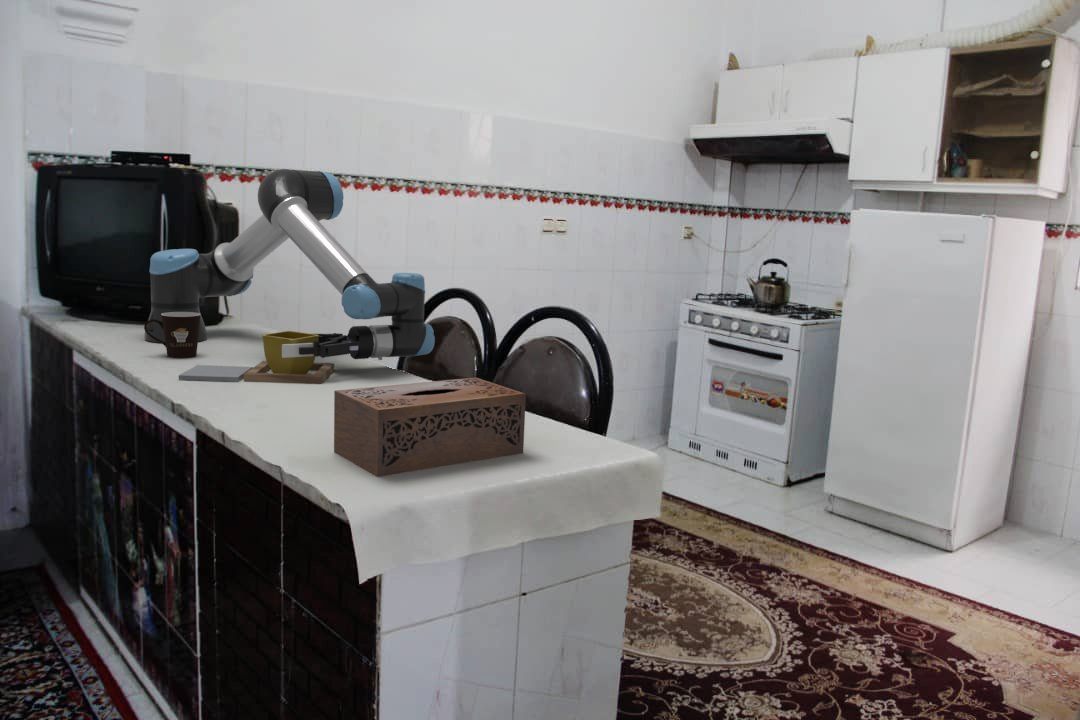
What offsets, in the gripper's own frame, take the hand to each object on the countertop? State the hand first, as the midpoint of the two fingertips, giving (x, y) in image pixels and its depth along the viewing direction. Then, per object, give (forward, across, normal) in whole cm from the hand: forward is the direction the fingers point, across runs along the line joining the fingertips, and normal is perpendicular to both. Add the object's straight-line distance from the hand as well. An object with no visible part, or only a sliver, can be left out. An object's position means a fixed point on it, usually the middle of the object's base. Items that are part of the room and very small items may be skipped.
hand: (273, 346), depth 191 cm
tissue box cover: (-4, -67, -7) cm, 68 cm away
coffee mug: (+13, +32, -7) cm, 35 cm away
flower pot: (-4, 0, -7) cm, 8 cm away
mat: (+11, +5, -6) cm, 13 cm away
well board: (-4, 0, -6) cm, 8 cm away
